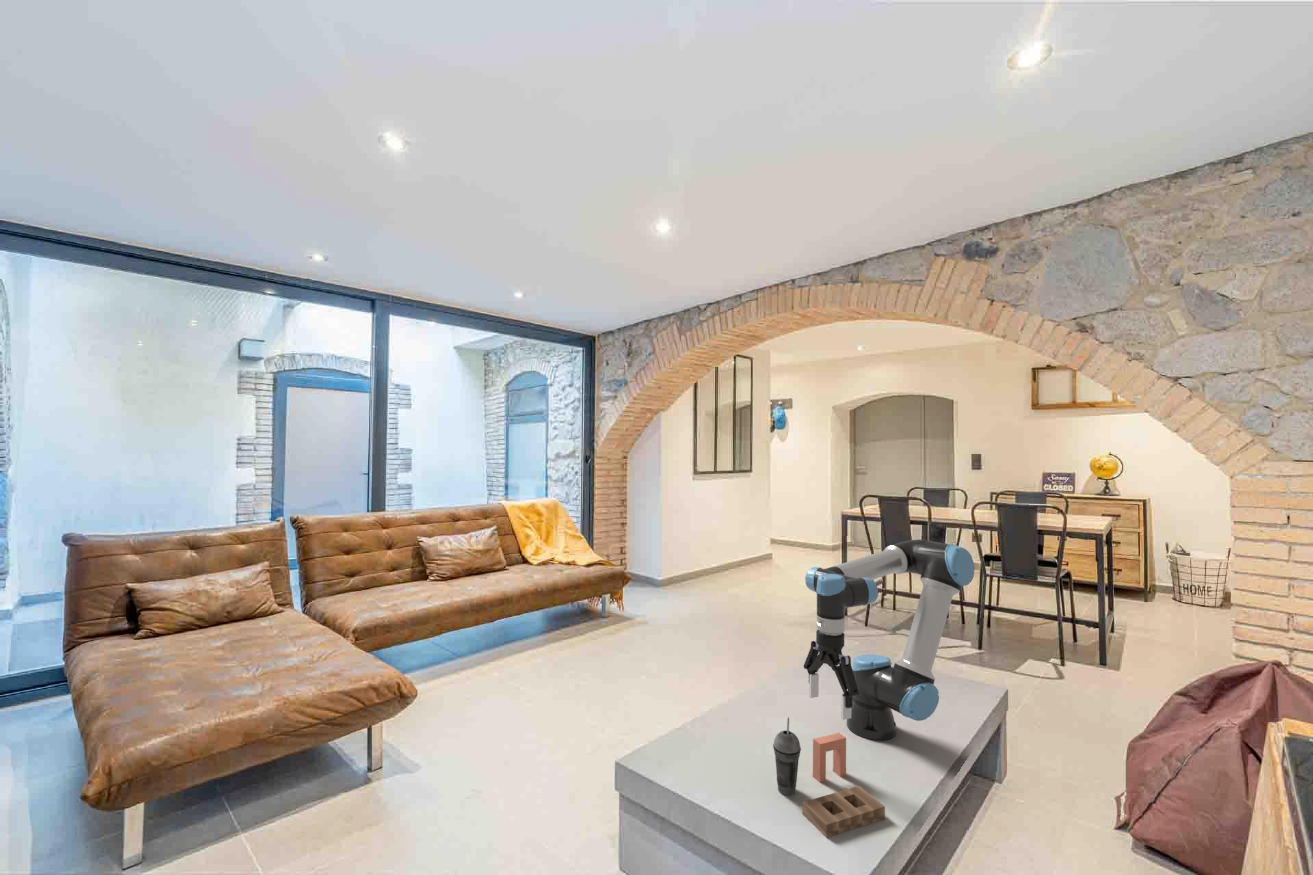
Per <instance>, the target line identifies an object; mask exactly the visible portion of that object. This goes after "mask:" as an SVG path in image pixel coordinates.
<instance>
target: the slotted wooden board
mask: <svg viewBox="0 0 1313 875" xmlns="http://www.w3.org/2000/svg"><path fill="white" fill-rule="evenodd" d="M802 815H803V816H804V817H805V818H806V819H807V820H808V821H809V822H810V823H811V824H812V825H813V826H814V827H815V828H816V829H817V830H818V831H819V832H820V833H821V834H822V835H823V836H824V837H825V838H829V837H832V836H837V835H838V834H842V833H844V832H848V831H850V830H854V829H858V828H859V827H863V826H867V825H870V824H872V823H876V822H878V821H882V820H884V819H886V806H885V805H884V804H882V803H881V802H880V801H879V800H877V799H876V798H875V797H874V796H873V795H871V794H870V793H869V792H868V791H866V789H863V787H861V786H860V785H857V786H854V787H850V788H847V789H844V790H839V791H837V792H833V793H830V794H826V795H823V796H822V795H821V796H819V797H816V798H812V799H809V800H806V801H802Z"/></svg>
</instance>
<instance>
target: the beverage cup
mask: <svg viewBox="0 0 1313 875" xmlns="http://www.w3.org/2000/svg"><path fill="white" fill-rule="evenodd" d="M786 722H787V724H786V730H782V731H779V732H778V733H777V734H776V736H775V737H774V739H773V746H772V747H773V752H774V756H775V759H774V760H775V769H776V772H775V773H776V784H777V789H778V790H777V791H778V792H779V793H780V794H781V795H783V796H787V797H788V796H793V795H795V794H796V789H797V781H798V769H799V760H800V755H801V750H802V748H801V744H800V740H799V737H797V735H796V733H794V732H792V731H790V717H787V720H786Z"/></svg>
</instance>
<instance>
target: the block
mask: <svg viewBox="0 0 1313 875" xmlns="http://www.w3.org/2000/svg"><path fill="white" fill-rule="evenodd" d="M830 751H832V760H833V761H832V772H834V773H835V774H836V775H837V776H838V777H839V778H842V777H845V776H846V775H847V737H846V736H845V735H843V734H842V733H840V732H837V733H832V734H827V735H823V736H819V737H814V738H813V739H812V777H813V778H814V779H815V780H816V781H817V782H818V783H823V782H826V780H827V779H826V777H827V775H826V774H827V772H826V771H827V767H826V766H827V752H830Z"/></svg>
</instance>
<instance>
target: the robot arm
mask: <svg viewBox="0 0 1313 875" xmlns="http://www.w3.org/2000/svg"><path fill="white" fill-rule="evenodd" d="M905 573H906V574H907V573H910V574H916V575H920V577H919V580H920V581H921V583H922V590H921V593H920V596H919V600H918V603H917V607H916V610H915V613H914V617H913V620H912V623H911V627H910V630H909V632H908V633H909V634H908V637H907V640H906V642H905V647H904V650H903V653H902V657H901V659H899V660H897V661H895V662H894V665H893V667H892V661H891V658H889V657H888V656H885V655H881V654H874V653H873V654H872V653H871V654H868V653H867V654H860V655H857V656H855V657H854V658H853V662H852V660H851V656H850V655H844V654H843V652H842V650H843V648H844V647H845V631H846V624H845V623H846V621H845V620H846V619H845V618H846V615H845V614H846V612H845V611H846V609H849V608H854V607H861V606H863V607H864V606H867V605H871V604H873V603H875V602H876V601H877V600H878V596H879V589H878V586H877V584H876V582H875V581H874V580H876V579H879V578H882V577H885V576H888V575H891V574H896V575H901V574H905ZM974 576H975V562H974V559H973V556H972V555H971V553H970V551H968V550H967V549H966V548H965V547H961V546H958V545H955V544H953V543H944V542H940V541H932V540H927V539H923V538H922V539H911V540H906V541H905V540H904V541H901V542H897V543H894V544H890V545H888V546H886V547H885V548H884V550H882V551H879V552H876V553H873V554H868V555H866V556H863V557H860V558H856V559H853V560H850V561H847V562H843V563H840V564H837V565H834V566H830V567H827V568H822V567H820V566H819V567H817V566H813V567H810V568H809V569H808V570H807V571H806V574H805V576H804V578H805V580H804V581H805V586H806V587H807V588H808V589H809V590H810V591H811V592H815V593H816V629H817V630H816V636H815V638H816V640H812V641H811V642H810V648H809V651H808V653H807V656H806V659H805V661H804V663H803V668H804V670H806V671H807V673H808V685H809V687H808V689H809V690H808V691H809V692H808V698H810V699H813V698H818V697H819V689H820V688H819V684H820V683H819V679H820V674H819V670H820V669H821V668H822V666H823V665H827V666H828V667H829V668H830V667H831V670H832V671H834V673H835V674H834V675H835V676H836V678H837V680H838V683H839V685H840V687H841V688H840V689H841V690H842V693H841V702H840V703H841V704H840V705H841V706H840V707H841V711H840V713H841V715H840V718H841V720H842V721H845V720H846V727H847V728H848V730H850V732H852V733H853V734H855V735H856V736H860V737H862V738H863V739H864V738H865V739H868V740H876V741H886V740H891V739H893V738H894V737H895V736H896V735H897V724H896V721H895V716H894V714H893V711H895V712H897V713H899V714H901V715H902V716H903V717H906V718H909V719H912V720H914V721H916V722H922V721H924V720H925V721H926V720H927V719H928V718H930V717H931V716H932V715H933V714H934V713H935V711H936V709H937V707H938V704H939V700H940V696H939V695H940V694H939V689H938V688H937V687H936V686H935V680H936V678H935V676H934V674H933V671H932V670H933V666H934V662H935V660H936V656H937V653H938V649H939V645H940V642H941V639H942V635H943V632H944V628H945V625H946V621H947V617H948V614H949V610H950V606H951V603H952V600H953V597H954V596H955V595H957V594H959V593H961V589H962V587H965V586H969V585H970V583H971V582H972V581H973V580H974ZM892 710H893V711H892Z"/></svg>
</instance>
